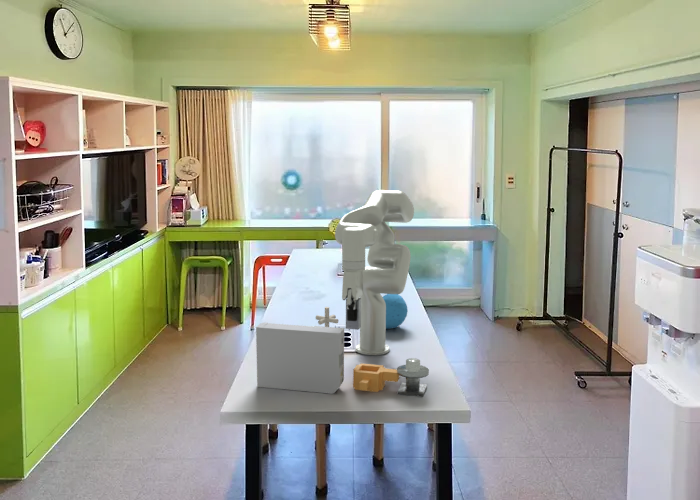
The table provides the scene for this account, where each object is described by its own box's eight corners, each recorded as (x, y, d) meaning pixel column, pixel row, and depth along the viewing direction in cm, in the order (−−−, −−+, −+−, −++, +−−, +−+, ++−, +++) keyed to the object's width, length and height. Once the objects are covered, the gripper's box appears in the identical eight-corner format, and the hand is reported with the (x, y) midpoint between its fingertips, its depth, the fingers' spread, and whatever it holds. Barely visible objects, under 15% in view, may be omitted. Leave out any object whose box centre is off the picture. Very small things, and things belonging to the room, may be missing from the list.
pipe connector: (330, 336, 274) (330, 312, 272) (309, 332, 279) (309, 308, 277) (344, 330, 282) (344, 306, 280) (324, 326, 287) (324, 303, 285)
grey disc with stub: (399, 383, 225) (400, 354, 223) (430, 386, 223) (431, 356, 221) (393, 395, 216) (394, 364, 214) (425, 398, 213) (426, 367, 211)
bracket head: (358, 380, 228) (358, 363, 226) (400, 384, 224) (401, 367, 223) (348, 394, 216) (348, 375, 215) (393, 398, 213) (393, 380, 211)
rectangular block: (348, 326, 233) (348, 297, 231) (360, 327, 232) (361, 298, 230) (345, 328, 230) (345, 299, 228) (358, 329, 229) (358, 300, 227)
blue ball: (390, 319, 298) (390, 285, 295) (415, 330, 282) (416, 294, 279) (358, 324, 291) (358, 289, 288) (382, 336, 275) (383, 299, 272)
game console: (263, 380, 227) (262, 322, 224) (344, 387, 221) (344, 327, 218) (256, 387, 222) (255, 327, 218) (339, 394, 216) (340, 333, 212)
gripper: (349, 259, 236) (348, 311, 239) (335, 269, 220) (335, 325, 224) (370, 260, 234) (370, 313, 237) (358, 270, 218) (358, 327, 222)
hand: (353, 318), depth 231 cm, fingers closed on rectangular block, 3 cm apart
